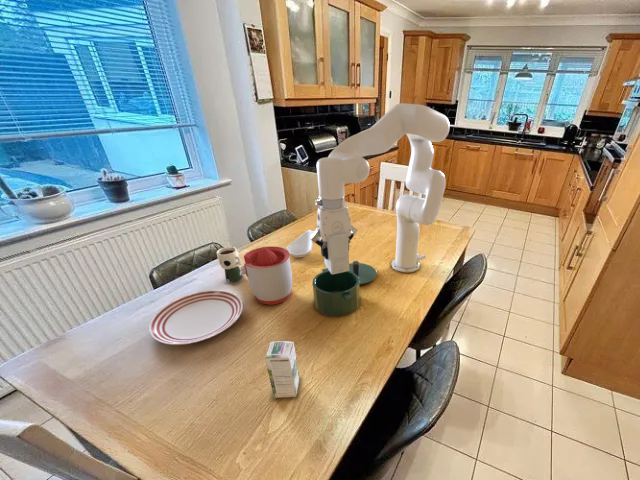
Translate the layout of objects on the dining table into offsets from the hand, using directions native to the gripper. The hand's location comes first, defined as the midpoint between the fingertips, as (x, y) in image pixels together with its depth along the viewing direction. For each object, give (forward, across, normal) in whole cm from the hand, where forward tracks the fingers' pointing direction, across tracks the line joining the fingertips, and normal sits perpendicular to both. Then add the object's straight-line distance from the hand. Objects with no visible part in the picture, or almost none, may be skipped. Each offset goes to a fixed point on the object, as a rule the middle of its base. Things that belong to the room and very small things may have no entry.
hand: (335, 254), depth 102 cm
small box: (+5, 0, 0) cm, 5 cm away
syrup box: (+20, -27, -28) cm, 44 cm away
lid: (+19, +15, +14) cm, 28 cm away
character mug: (+20, -30, +34) cm, 50 cm away
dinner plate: (+20, -44, +12) cm, 50 cm away
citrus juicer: (+20, -20, +16) cm, 32 cm away
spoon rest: (+20, +4, +47) cm, 52 cm away
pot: (+20, 0, 0) cm, 20 cm away
